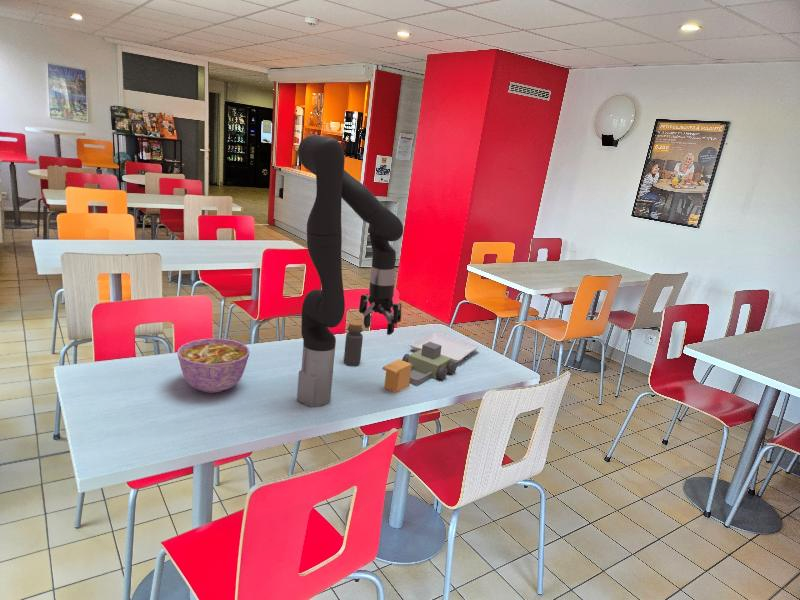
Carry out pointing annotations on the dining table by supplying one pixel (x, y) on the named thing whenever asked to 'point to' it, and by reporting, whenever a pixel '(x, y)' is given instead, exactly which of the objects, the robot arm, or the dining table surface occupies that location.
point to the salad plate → (447, 346)
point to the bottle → (353, 344)
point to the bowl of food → (213, 363)
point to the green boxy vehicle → (429, 364)
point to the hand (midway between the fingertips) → (378, 330)
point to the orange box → (397, 375)
